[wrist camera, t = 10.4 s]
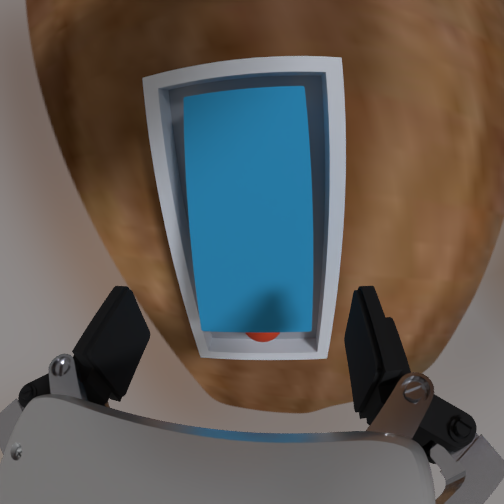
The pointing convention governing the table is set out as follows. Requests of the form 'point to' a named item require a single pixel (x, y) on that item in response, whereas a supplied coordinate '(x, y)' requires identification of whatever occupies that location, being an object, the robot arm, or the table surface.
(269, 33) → the table surface
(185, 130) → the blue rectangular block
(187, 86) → the tray
